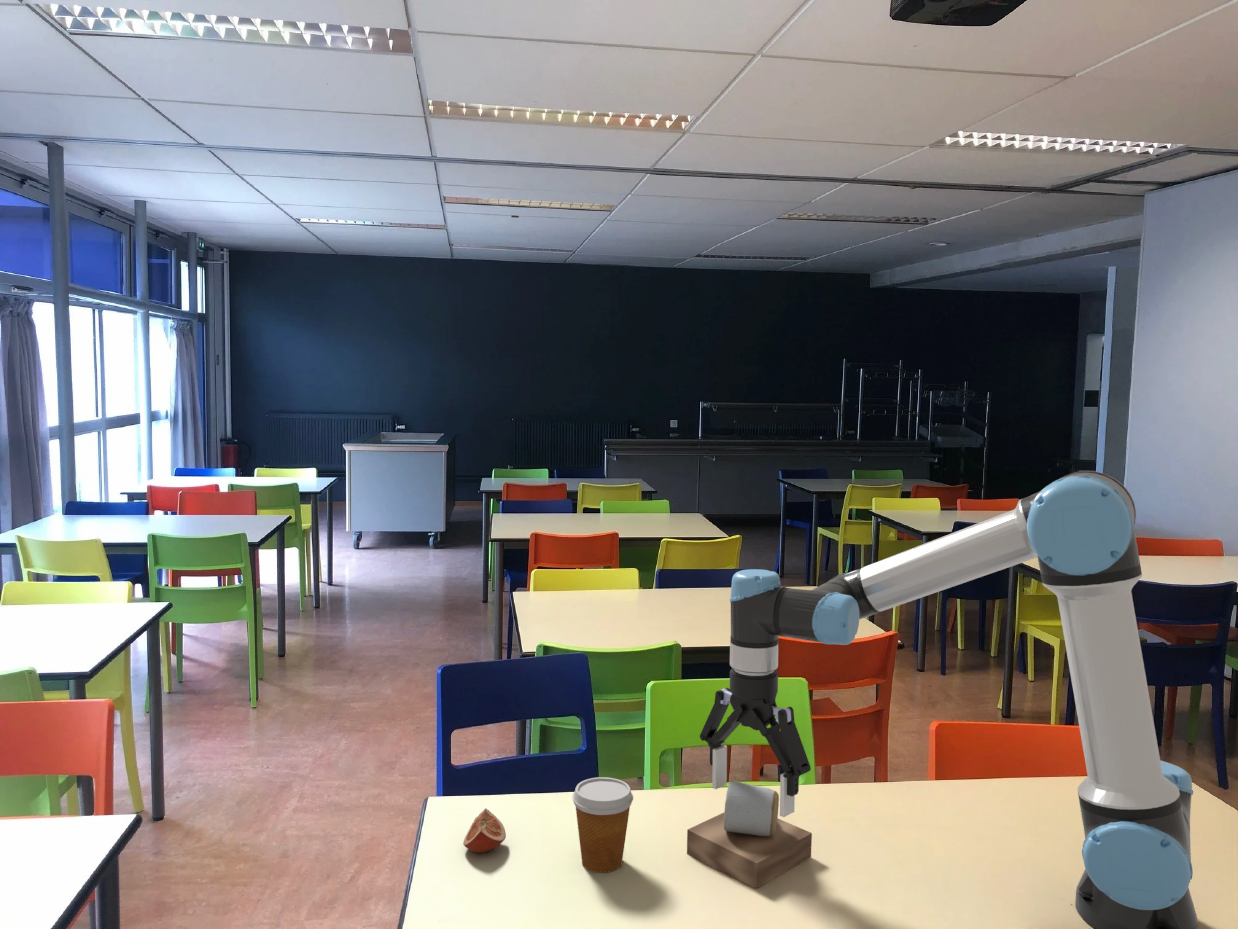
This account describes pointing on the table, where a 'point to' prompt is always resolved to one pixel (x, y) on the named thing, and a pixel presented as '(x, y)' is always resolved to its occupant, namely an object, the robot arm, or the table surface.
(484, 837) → the fruit slice
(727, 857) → the block
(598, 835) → the disposable coffee cup
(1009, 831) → the table surface
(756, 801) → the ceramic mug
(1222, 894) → the table surface
